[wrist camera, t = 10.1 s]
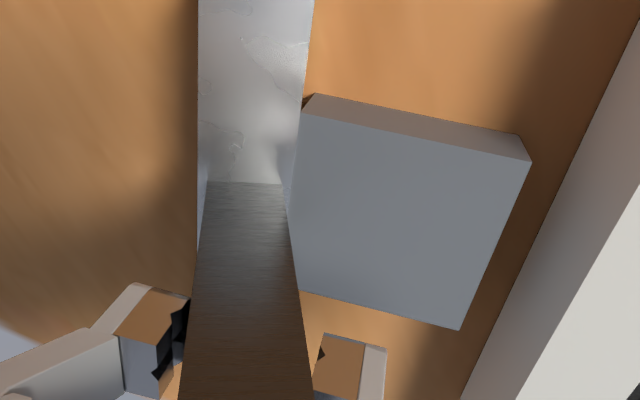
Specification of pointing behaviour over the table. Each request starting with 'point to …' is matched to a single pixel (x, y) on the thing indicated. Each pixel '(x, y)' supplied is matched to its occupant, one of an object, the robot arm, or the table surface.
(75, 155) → the table surface
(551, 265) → the bar
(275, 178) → the upside-down t block
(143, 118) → the table surface
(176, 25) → the table surface
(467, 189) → the slate tile
